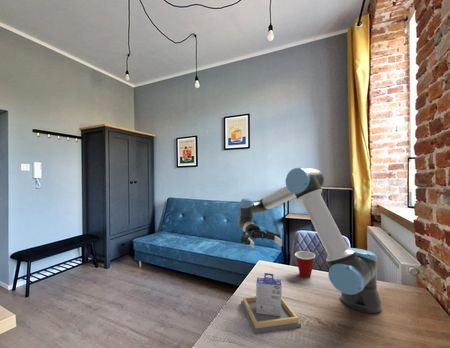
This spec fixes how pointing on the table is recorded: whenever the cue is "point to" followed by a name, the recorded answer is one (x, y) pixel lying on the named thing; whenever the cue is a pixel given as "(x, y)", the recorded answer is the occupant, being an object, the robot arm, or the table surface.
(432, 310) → the table surface
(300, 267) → the plastic cup
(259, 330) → the tray
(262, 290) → the ink cartridge box
